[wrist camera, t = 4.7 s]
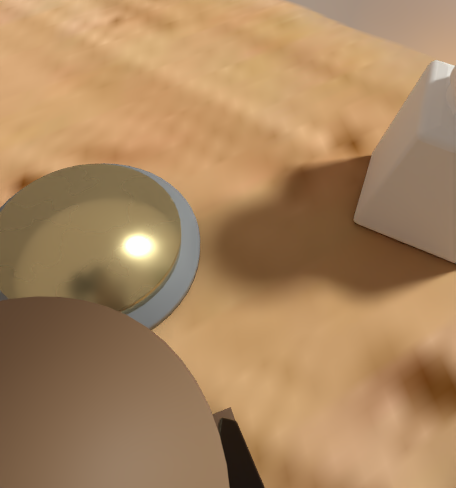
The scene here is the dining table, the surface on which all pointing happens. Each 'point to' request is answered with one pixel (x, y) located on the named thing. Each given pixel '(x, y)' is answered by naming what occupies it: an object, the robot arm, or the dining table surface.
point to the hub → (90, 237)
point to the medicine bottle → (417, 169)
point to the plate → (184, 270)
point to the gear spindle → (99, 403)
